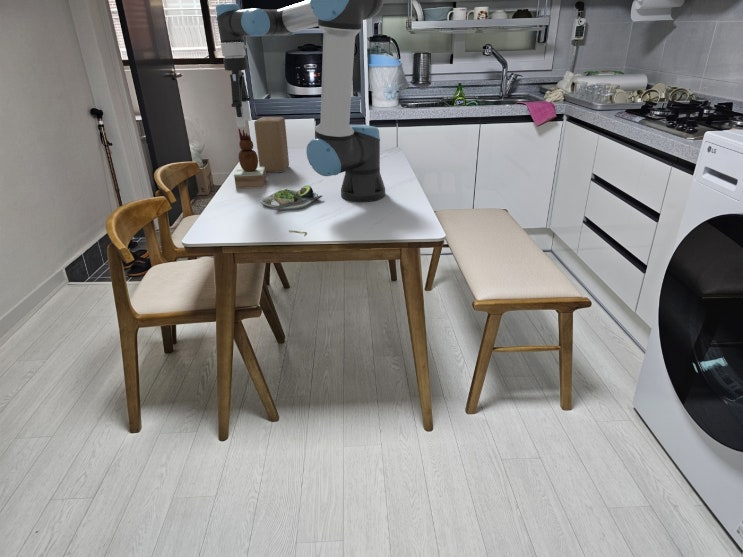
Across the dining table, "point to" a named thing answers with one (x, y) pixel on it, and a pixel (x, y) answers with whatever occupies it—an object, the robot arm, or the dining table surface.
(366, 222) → the dining table surface
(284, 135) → the block
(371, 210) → the dining table surface
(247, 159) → the wooden figurine
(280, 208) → the salad plate
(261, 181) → the plinth
